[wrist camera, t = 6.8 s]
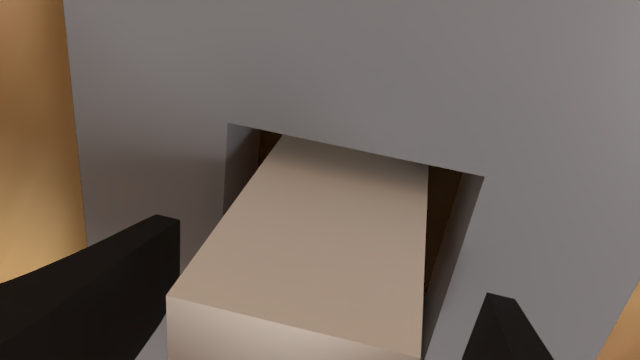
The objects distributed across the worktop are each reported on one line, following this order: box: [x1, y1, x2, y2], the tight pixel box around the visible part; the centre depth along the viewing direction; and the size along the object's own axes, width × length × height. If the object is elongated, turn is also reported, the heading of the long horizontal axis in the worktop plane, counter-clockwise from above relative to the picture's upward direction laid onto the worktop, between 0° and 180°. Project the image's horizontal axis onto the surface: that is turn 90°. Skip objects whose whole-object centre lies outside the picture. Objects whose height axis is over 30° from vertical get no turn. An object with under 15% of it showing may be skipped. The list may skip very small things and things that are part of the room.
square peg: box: [166, 134, 429, 360], centre depth 12 cm, size 4×4×8 cm
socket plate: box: [63, 0, 640, 360], centre depth 14 cm, size 16×14×3 cm
